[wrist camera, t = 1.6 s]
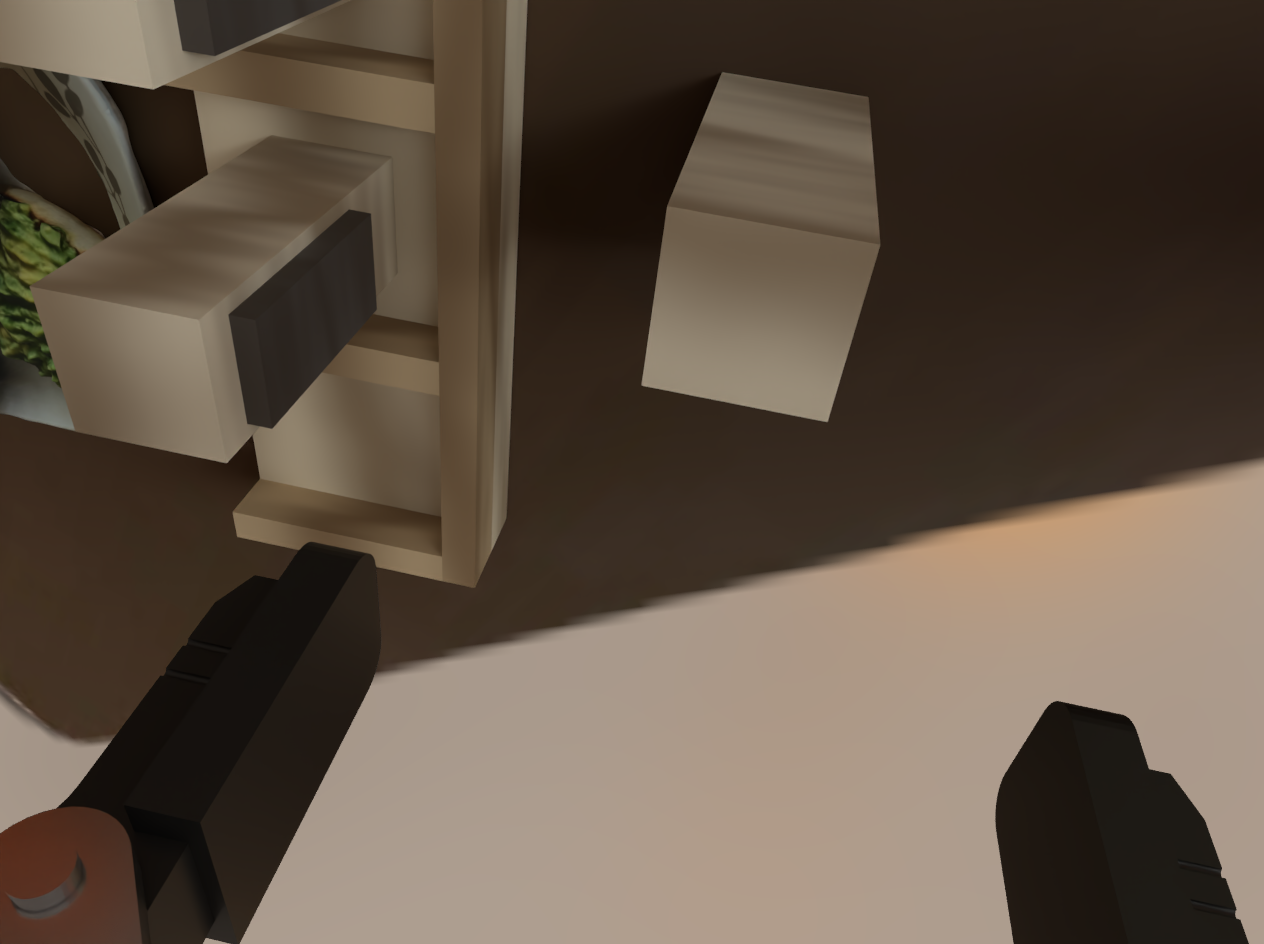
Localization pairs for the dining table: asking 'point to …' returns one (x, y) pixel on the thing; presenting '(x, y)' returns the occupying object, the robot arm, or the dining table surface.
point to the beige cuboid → (766, 249)
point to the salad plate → (55, 239)
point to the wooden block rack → (311, 262)
